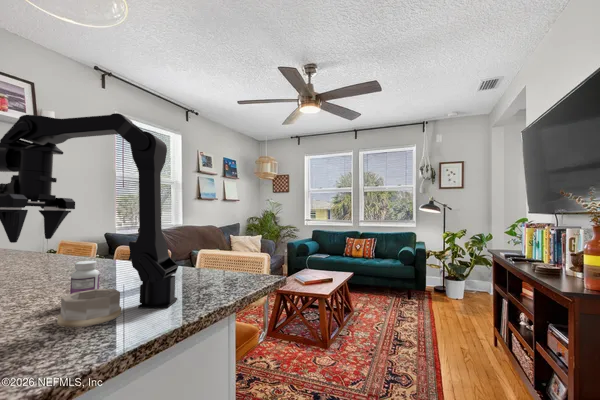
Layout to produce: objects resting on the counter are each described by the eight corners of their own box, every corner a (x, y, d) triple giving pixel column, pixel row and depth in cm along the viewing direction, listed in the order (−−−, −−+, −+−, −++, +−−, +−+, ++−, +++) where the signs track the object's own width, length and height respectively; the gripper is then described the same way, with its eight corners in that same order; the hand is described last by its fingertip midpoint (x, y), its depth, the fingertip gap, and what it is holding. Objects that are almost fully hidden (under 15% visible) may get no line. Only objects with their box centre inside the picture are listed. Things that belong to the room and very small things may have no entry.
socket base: (130, 308, 64) (131, 287, 64) (102, 326, 53) (103, 302, 54) (81, 309, 63) (82, 288, 63) (42, 327, 53) (43, 302, 53)
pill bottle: (79, 300, 69) (81, 260, 70) (103, 300, 69) (105, 260, 70) (63, 308, 64) (65, 264, 64) (88, 307, 64) (90, 263, 65)
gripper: (32, 177, 75) (29, 237, 74) (-49, 164, 56) (-54, 244, 56) (78, 177, 76) (75, 237, 75) (12, 165, 57) (7, 244, 56)
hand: (31, 240), depth 65 cm, fingers open, 9 cm apart
